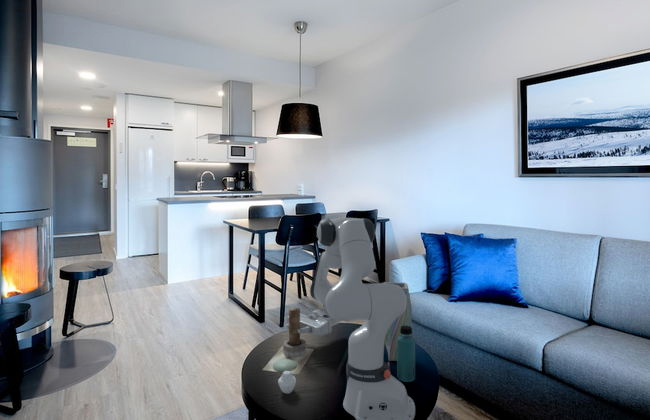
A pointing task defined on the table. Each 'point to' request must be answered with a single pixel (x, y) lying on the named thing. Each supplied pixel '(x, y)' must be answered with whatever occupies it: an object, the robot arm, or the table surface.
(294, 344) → the walnut peg
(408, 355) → the beverage bottle
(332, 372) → the table surface
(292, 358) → the birch board
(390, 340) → the vase
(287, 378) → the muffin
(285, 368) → the sage pad
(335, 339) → the table surface
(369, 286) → the robot arm
